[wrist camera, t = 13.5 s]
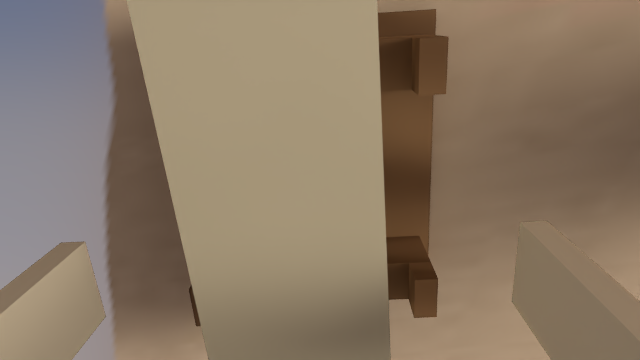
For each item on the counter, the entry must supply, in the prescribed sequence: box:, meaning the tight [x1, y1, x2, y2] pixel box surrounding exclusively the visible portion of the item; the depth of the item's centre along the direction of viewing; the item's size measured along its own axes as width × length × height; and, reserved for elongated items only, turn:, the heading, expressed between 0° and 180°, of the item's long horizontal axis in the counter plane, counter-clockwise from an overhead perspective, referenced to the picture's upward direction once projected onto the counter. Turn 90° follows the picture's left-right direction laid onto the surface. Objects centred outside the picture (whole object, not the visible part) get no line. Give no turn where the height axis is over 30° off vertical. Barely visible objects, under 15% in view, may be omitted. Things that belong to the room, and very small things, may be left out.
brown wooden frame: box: [189, 9, 448, 326], centre depth 19 cm, size 14×12×5 cm
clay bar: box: [126, 0, 391, 360], centre depth 15 cm, size 16×5×8 cm, turn 5°
